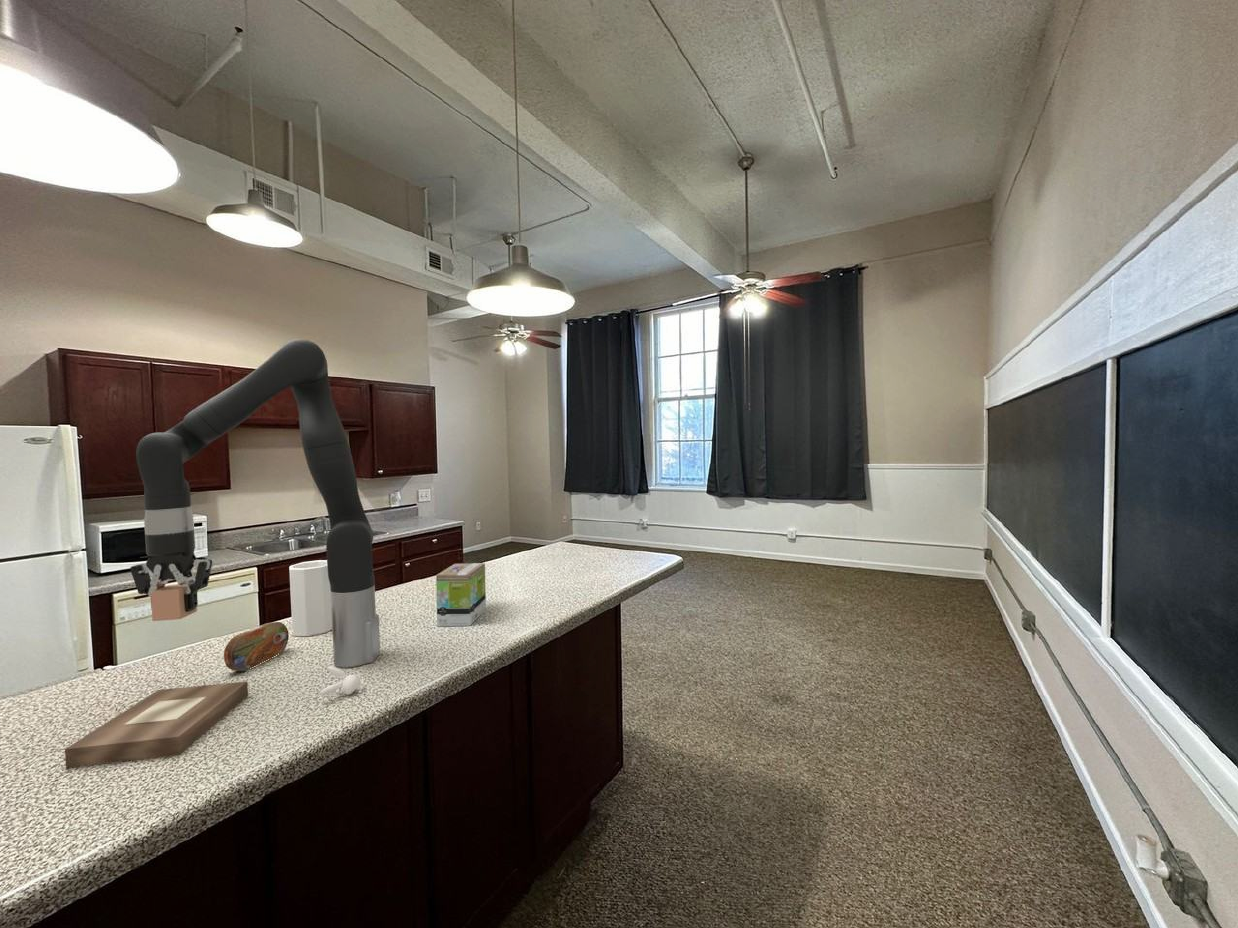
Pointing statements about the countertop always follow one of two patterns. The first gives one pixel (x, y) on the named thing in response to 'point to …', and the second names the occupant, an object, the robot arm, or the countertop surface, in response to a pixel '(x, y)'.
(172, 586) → the block
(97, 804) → the countertop surface
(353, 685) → the rabbit figurine
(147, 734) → the plinth
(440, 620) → the tea box
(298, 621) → the cup
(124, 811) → the countertop surface
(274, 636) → the tin
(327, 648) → the countertop surface
